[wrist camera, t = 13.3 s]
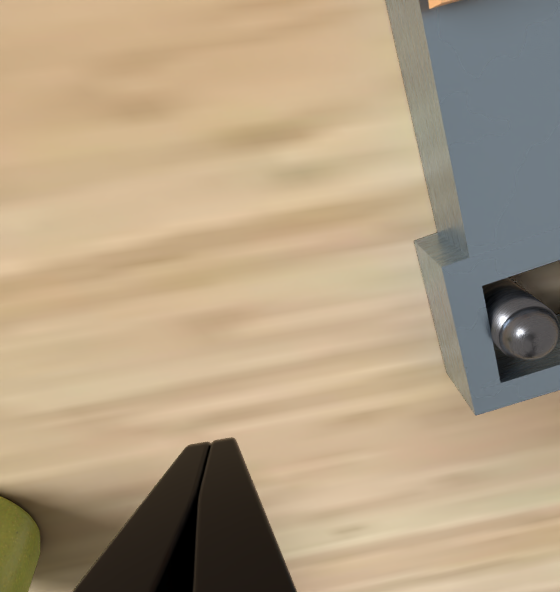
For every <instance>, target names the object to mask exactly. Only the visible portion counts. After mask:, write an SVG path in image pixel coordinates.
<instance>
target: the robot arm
mask: <svg viewBox="0 0 560 592" xmlns="http://www.w3.org/2000/svg"><path fill="white" fill-rule="evenodd" d="M73 592H297V591H296V588H295V586H294V583H293V581H292V578H291V576H290V573H289V571H288V568H287V566H286V563H285V561H284V558H283V556H282V553H281V551H280V548H279V546H278V543H277V541H276V538H275V536H274V533H273V531H272V528H271V526H270V523H269V521H268V518H267V516H266V513H265V511H264V508H263V506H262V504H261V501H260V499H259V496H258V494H257V491H256V489H255V486H254V484H253V481H252V479H251V476H250V474H249V471H248V469H247V466H246V464H245V461H244V459H243V456H242V454H241V451H240V449H239V446H238V444H237V441H236V439H235V438H226V439H220V440H215V441H213V442H212V443H210V442H203V443H197V444H191V445H188V446H187V447H186V448H185V449H184V450H183V451H182V453H181V454H180V455H179V456H178V458H177V459H176V460H175V462H174V463H173V464H172V465H171V467H170V468H169V469H168V470H167V472H166V473H165V474H164V476H163V477H162V478H161V479H160V481H159V482H158V483H157V484H156V486H155V487H154V488H153V490H152V491H151V492H150V493H149V495H148V496H147V497H146V498H145V500H144V501H143V502H142V504H141V505H140V506H139V507H138V509H137V510H136V511H135V513H134V514H133V515H132V516H131V518H130V519H129V520H128V521H127V523H126V524H125V525H124V527H123V528H122V529H121V530H120V532H119V533H118V534H117V535H116V537H115V538H114V539H113V541H112V542H111V543H110V544H109V546H108V547H107V548H106V549H105V551H104V552H103V553H102V555H101V556H100V557H99V558H98V560H97V561H96V562H95V564H94V565H93V566H92V567H91V569H90V570H89V571H88V572H87V574H86V575H85V576H84V578H83V579H82V580H81V581H80V583H79V584H78V585H77V586H76V588H75V589H74V590H73Z"/></svg>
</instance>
